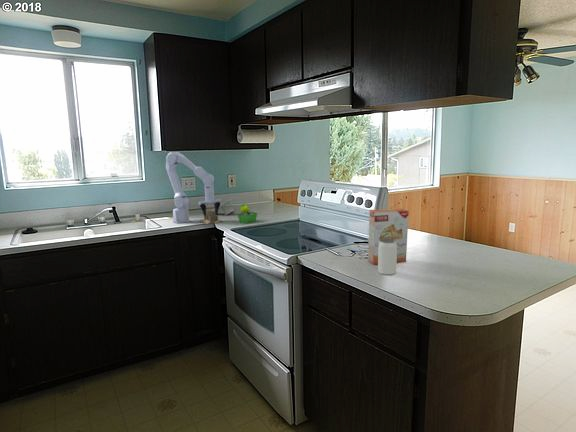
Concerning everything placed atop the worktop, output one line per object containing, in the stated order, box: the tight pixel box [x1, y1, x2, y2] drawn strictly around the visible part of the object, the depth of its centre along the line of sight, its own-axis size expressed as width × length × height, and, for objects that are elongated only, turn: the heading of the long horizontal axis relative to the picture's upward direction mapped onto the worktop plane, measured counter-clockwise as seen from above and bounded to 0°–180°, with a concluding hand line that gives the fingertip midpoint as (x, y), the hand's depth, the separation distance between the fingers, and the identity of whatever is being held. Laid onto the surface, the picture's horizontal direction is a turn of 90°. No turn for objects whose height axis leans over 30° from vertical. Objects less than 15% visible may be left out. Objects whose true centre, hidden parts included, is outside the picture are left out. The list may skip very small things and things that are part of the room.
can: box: [377, 239, 397, 276], centre depth 138 cm, size 6×6×12 cm
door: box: [206, 209, 217, 221], centre depth 241 cm, size 2×10×6 cm, turn 33°
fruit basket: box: [237, 203, 258, 224], centre depth 238 cm, size 11×9×11 cm
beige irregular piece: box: [199, 215, 223, 225], centre depth 242 cm, size 10×12×4 cm
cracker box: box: [367, 208, 409, 265], centre depth 150 cm, size 14×6×21 cm, turn 100°
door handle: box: [211, 198, 235, 216], centre depth 271 cm, size 18×8×20 cm
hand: (210, 215), depth 241 cm, fingers open, 7 cm apart
